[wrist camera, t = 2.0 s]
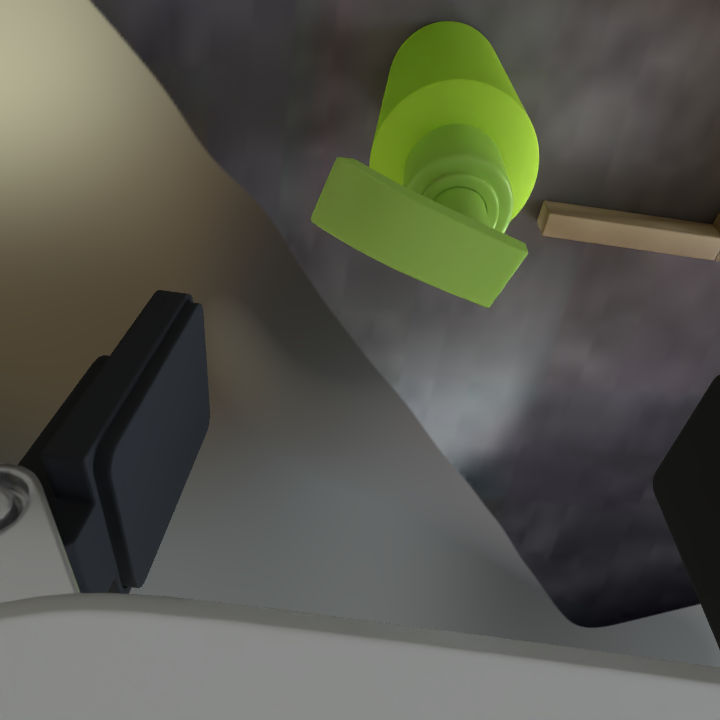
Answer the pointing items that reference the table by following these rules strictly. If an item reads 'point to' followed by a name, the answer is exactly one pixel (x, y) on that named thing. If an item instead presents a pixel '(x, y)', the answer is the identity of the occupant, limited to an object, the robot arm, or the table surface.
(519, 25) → the table surface
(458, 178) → the soap dispenser
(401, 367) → the table surface
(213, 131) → the table surface
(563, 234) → the holder
